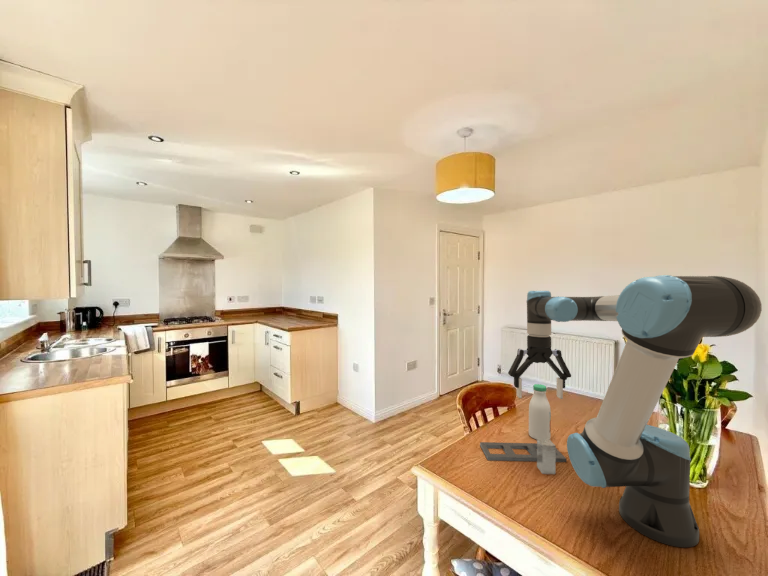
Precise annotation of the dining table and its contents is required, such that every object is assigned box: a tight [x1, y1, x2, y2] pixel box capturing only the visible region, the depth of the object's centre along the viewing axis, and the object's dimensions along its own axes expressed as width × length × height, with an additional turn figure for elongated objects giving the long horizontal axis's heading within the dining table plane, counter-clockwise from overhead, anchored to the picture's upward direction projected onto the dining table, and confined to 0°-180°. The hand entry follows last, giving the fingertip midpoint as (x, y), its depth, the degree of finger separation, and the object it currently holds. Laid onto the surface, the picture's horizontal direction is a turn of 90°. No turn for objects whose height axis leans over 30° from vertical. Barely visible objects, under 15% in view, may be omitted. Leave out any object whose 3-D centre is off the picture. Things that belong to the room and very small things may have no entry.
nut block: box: [536, 438, 557, 475], centre depth 102 cm, size 4×4×9 cm
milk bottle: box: [528, 383, 552, 440], centre depth 125 cm, size 8×8×20 cm
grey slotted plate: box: [479, 441, 567, 463], centre depth 113 cm, size 10×26×1 cm, turn 88°
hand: (539, 397), depth 110 cm, fingers open, 13 cm apart
